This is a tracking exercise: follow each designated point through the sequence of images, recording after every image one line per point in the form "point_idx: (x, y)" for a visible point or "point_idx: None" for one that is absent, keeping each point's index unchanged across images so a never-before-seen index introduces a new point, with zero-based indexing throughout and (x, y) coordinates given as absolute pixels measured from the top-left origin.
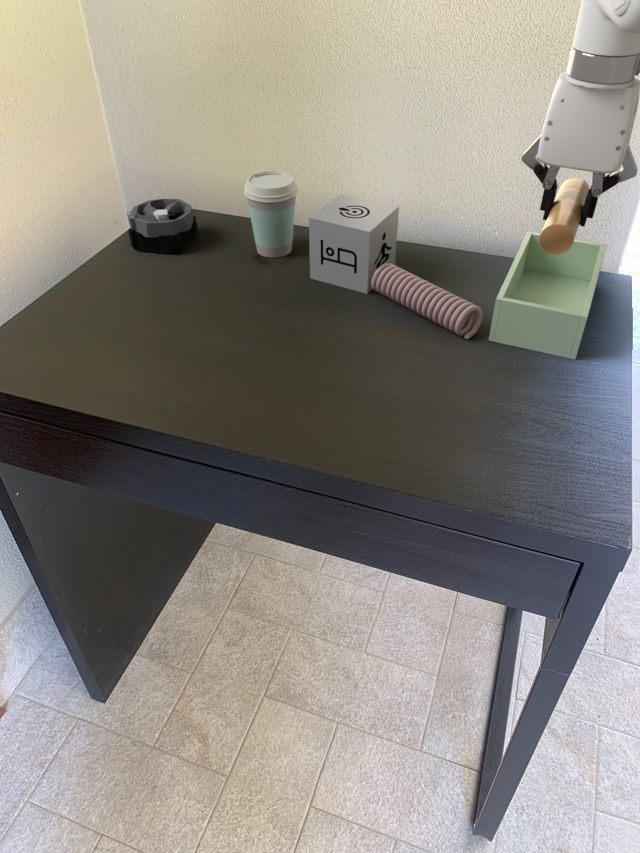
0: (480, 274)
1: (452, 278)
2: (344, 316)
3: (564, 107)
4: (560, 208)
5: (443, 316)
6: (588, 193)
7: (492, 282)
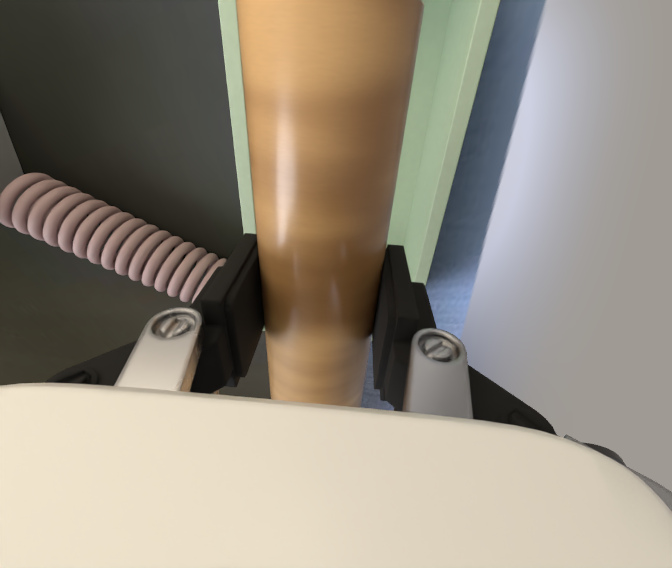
0: (172, 27)
1: (126, 80)
2: (62, 277)
3: None
4: (294, 393)
5: (192, 295)
6: (384, 363)
7: (214, 65)
